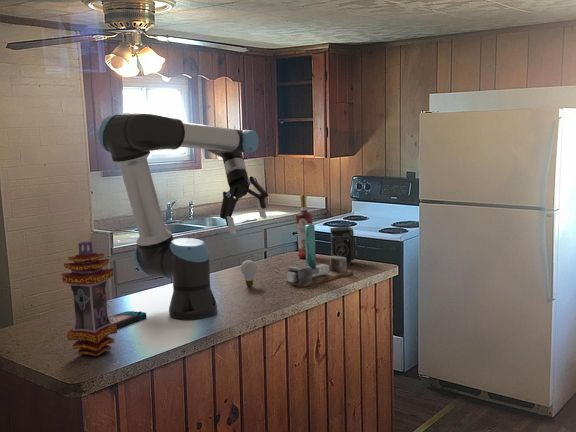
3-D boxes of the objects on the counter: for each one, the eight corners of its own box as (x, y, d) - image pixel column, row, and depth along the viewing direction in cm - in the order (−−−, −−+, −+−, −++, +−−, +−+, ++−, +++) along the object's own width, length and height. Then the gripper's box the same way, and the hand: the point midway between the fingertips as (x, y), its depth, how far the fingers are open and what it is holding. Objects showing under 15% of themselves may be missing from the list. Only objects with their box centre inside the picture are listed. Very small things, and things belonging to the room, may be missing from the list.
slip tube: (293, 282, 228) (291, 229, 226) (286, 280, 231) (284, 228, 229) (329, 273, 240) (328, 223, 237) (322, 271, 243) (320, 222, 240)
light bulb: (258, 284, 233) (257, 258, 232) (256, 289, 228) (255, 261, 226) (243, 285, 234) (241, 258, 233) (240, 289, 228) (239, 262, 227)
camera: (358, 265, 258) (357, 229, 256) (332, 266, 258) (331, 230, 256) (355, 260, 268) (354, 225, 266) (331, 261, 269) (329, 226, 266)
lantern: (67, 357, 165) (57, 244, 161) (90, 345, 173) (81, 238, 169) (98, 361, 161) (88, 246, 157) (120, 349, 170) (111, 239, 166)
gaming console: (126, 309, 203) (148, 310, 198) (127, 316, 204) (149, 318, 198) (63, 330, 184) (85, 333, 178) (64, 339, 184) (87, 342, 178)
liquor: (315, 255, 281) (313, 193, 278) (312, 259, 274) (309, 195, 270) (299, 255, 283) (296, 193, 279) (295, 259, 276) (293, 195, 272)
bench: (302, 286, 228) (301, 268, 227) (286, 282, 235) (285, 265, 234) (352, 273, 245) (352, 257, 244) (336, 270, 251) (335, 254, 250)
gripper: (269, 161, 225) (282, 213, 216) (217, 191, 236) (227, 242, 227) (257, 154, 219) (270, 207, 210) (204, 185, 230) (214, 237, 221)
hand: (248, 225), depth 218 cm, fingers open, 13 cm apart
